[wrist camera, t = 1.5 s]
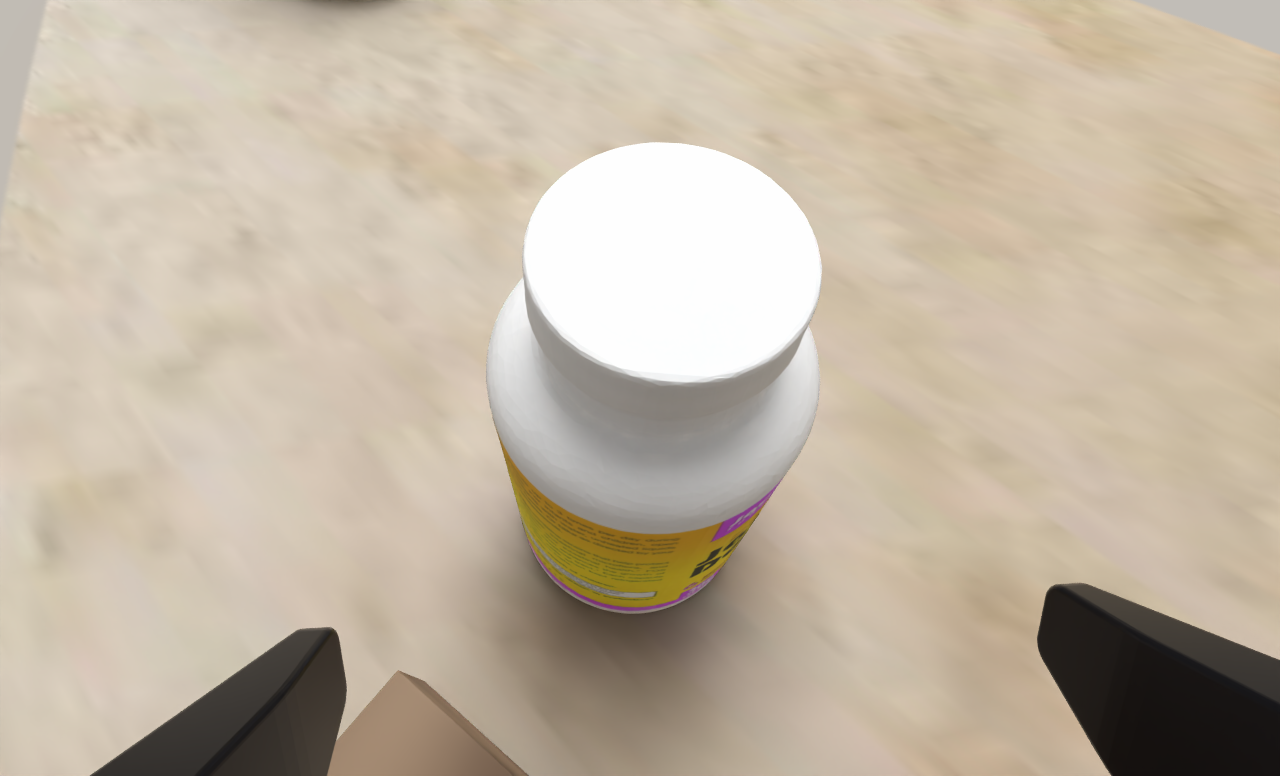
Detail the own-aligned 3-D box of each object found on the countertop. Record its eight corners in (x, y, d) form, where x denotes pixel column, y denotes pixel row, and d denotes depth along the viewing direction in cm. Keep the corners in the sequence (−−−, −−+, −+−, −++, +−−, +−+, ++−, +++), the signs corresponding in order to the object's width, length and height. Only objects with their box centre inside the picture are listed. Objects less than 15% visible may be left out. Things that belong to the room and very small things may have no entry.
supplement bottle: (686, 658, 20) (806, 538, 9) (484, 558, 21) (358, 334, 10) (765, 462, 23) (932, 182, 12) (585, 382, 24) (578, 52, 13)
